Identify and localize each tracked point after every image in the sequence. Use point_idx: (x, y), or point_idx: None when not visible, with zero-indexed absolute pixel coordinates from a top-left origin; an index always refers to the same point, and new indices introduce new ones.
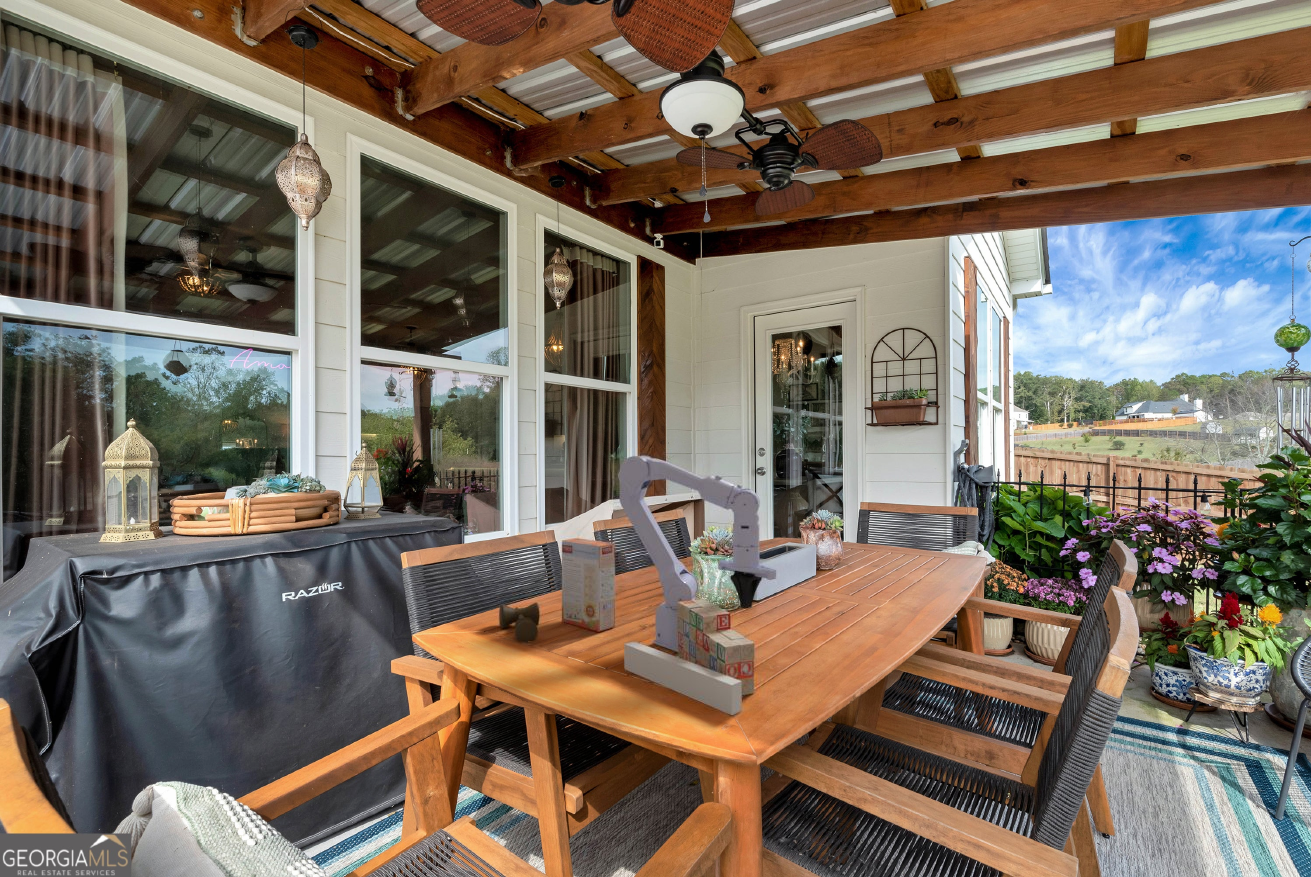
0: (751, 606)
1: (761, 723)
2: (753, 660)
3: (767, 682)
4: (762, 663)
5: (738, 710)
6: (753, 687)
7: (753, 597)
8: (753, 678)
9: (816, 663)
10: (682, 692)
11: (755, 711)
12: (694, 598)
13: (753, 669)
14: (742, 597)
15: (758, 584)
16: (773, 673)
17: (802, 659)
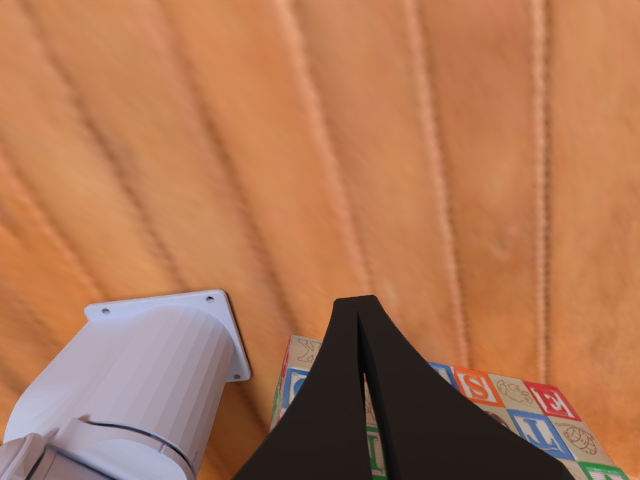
0: (376, 299)
1: (635, 443)
2: (615, 466)
3: (550, 329)
4: (459, 251)
5: None
6: (566, 400)
7: (399, 333)
8: (580, 419)
9: (620, 92)
10: None
11: (602, 426)
12: (88, 452)
13: (597, 442)
14: (375, 415)
15: (484, 415)
16: (532, 279)
17: (553, 104)
